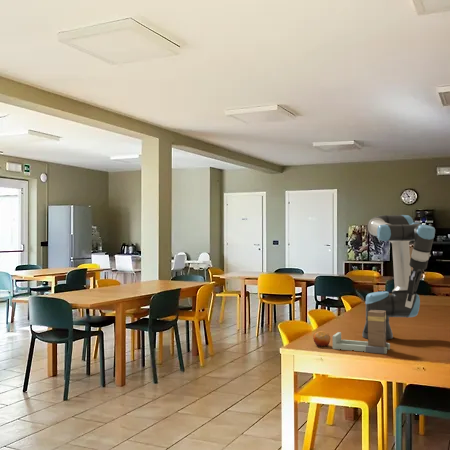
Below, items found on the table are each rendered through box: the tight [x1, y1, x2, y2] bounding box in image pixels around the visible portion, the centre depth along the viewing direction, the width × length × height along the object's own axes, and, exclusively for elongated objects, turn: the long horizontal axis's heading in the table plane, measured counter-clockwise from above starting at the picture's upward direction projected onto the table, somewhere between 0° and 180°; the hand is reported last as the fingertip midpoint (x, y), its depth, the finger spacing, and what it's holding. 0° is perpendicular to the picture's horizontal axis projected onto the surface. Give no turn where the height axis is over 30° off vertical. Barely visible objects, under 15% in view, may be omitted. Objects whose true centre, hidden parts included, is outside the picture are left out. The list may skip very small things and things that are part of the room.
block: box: [367, 310, 387, 347], centre depth 255 cm, size 7×7×18 cm
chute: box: [332, 331, 391, 355], centre depth 258 cm, size 13×24×6 cm, turn 65°
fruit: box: [313, 330, 331, 347], centre depth 265 cm, size 8×8×8 cm
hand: (408, 306), depth 255 cm, fingers closed
